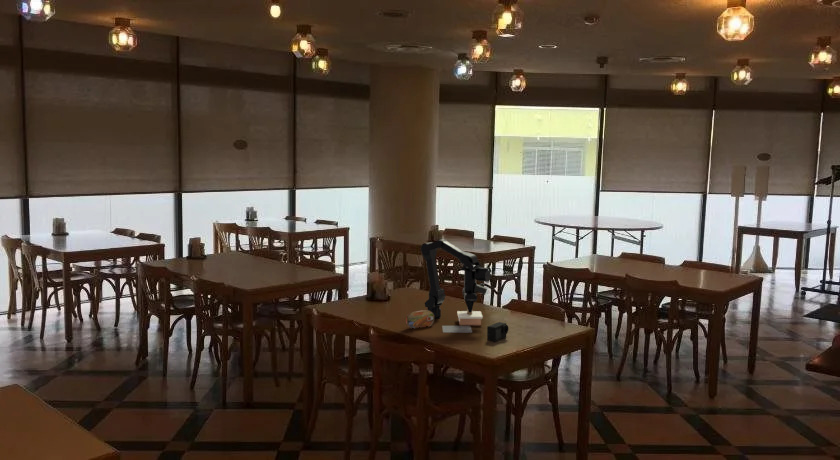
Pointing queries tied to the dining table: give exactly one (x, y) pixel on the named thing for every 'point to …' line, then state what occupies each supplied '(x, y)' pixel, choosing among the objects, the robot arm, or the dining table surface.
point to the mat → (457, 329)
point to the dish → (470, 322)
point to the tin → (420, 319)
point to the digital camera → (497, 331)
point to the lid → (469, 315)
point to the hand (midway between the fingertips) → (469, 310)
